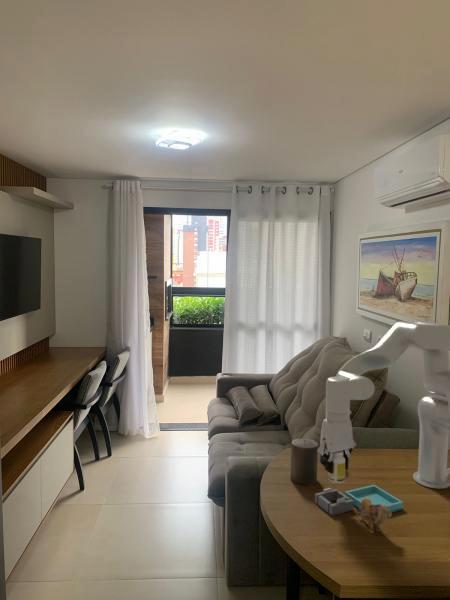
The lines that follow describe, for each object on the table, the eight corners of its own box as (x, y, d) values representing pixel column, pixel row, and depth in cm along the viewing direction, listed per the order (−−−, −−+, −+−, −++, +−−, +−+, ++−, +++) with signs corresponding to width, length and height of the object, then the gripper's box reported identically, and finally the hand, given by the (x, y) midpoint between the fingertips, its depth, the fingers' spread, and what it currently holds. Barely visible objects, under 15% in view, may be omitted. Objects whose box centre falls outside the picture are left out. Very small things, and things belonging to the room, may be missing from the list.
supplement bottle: (346, 477, 147) (346, 449, 147) (343, 485, 142) (343, 455, 142) (330, 474, 150) (330, 446, 149) (326, 481, 145) (326, 452, 144)
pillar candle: (311, 487, 158) (313, 446, 158) (286, 480, 163) (287, 440, 163) (320, 477, 167) (321, 438, 166) (295, 471, 172) (297, 432, 171)
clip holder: (335, 497, 152) (336, 485, 152) (353, 509, 144) (354, 497, 144) (314, 502, 148) (315, 490, 148) (331, 515, 140) (332, 502, 140)
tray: (373, 491, 157) (374, 484, 157) (402, 509, 145) (403, 502, 145) (344, 498, 151) (344, 491, 151) (372, 517, 139) (372, 510, 139)
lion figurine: (393, 537, 130) (394, 507, 129) (377, 540, 128) (379, 509, 127) (363, 511, 144) (364, 483, 143) (349, 513, 142) (350, 486, 141)
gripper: (350, 408, 151) (349, 460, 153) (308, 416, 144) (308, 470, 146) (366, 415, 145) (365, 469, 146) (323, 423, 137) (322, 480, 139)
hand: (336, 469), depth 146 cm, fingers closed on supplement bottle, 5 cm apart
